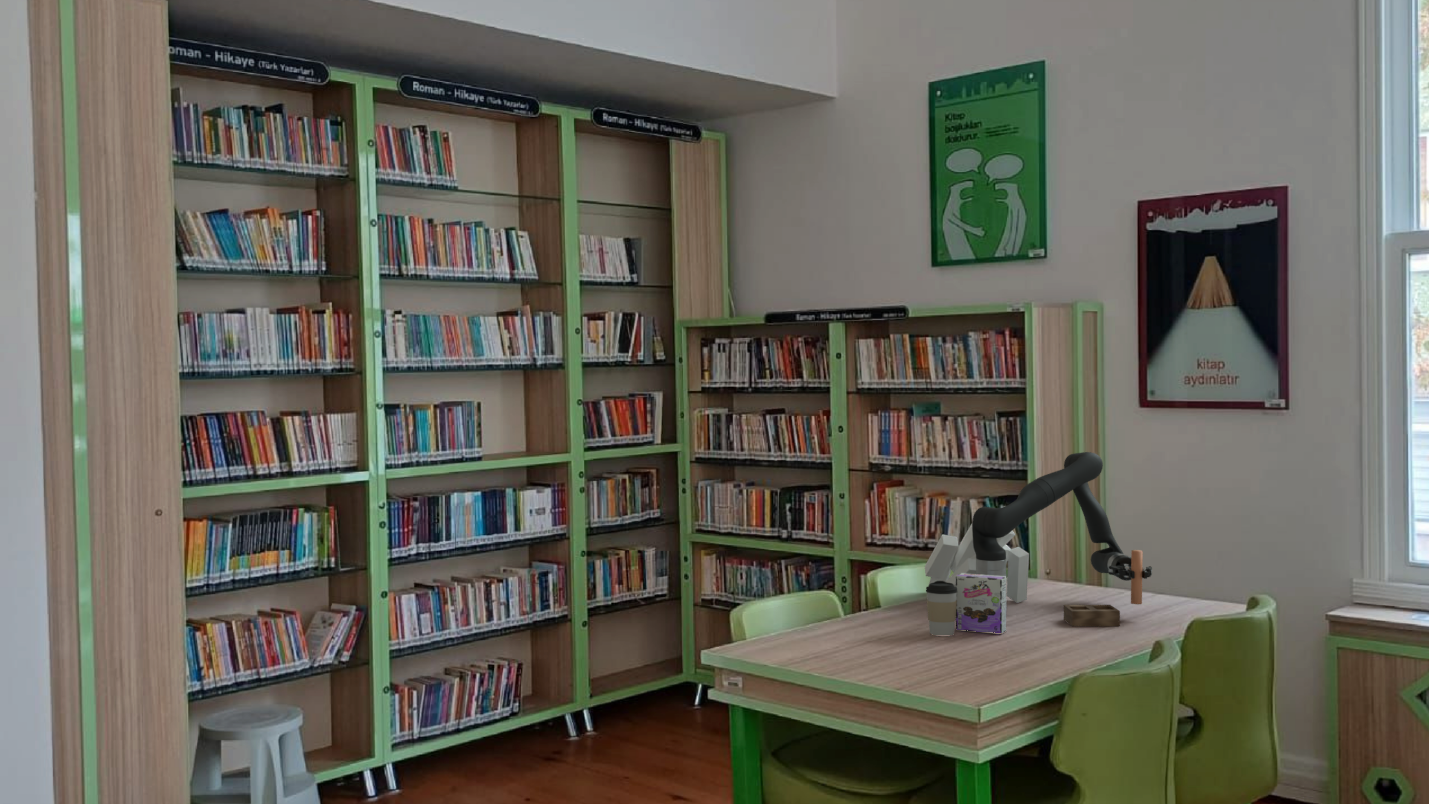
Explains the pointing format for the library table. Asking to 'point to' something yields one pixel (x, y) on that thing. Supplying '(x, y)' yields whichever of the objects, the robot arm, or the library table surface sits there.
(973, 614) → the candy box
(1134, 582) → the peg
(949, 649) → the library table surface
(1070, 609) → the hole block
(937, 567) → the pile of blocks
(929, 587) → the coffee cup
